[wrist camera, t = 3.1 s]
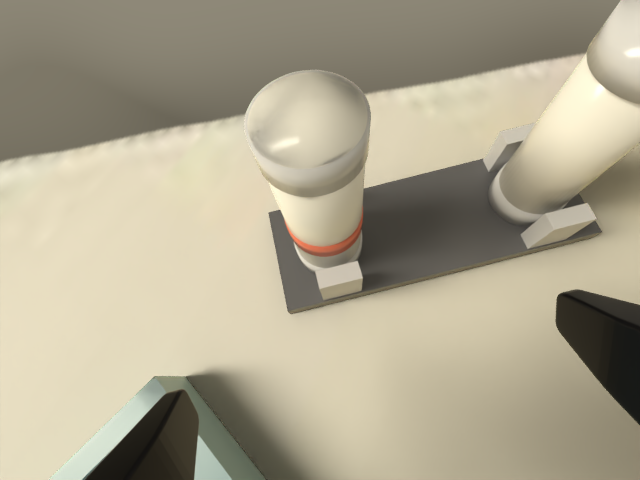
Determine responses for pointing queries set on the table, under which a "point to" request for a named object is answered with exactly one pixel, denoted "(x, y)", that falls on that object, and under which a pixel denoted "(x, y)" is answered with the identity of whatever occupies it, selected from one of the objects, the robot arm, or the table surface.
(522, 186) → the fuse
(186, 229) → the table surface
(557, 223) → the fuse holder
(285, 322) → the table surface
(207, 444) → the tray
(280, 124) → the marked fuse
